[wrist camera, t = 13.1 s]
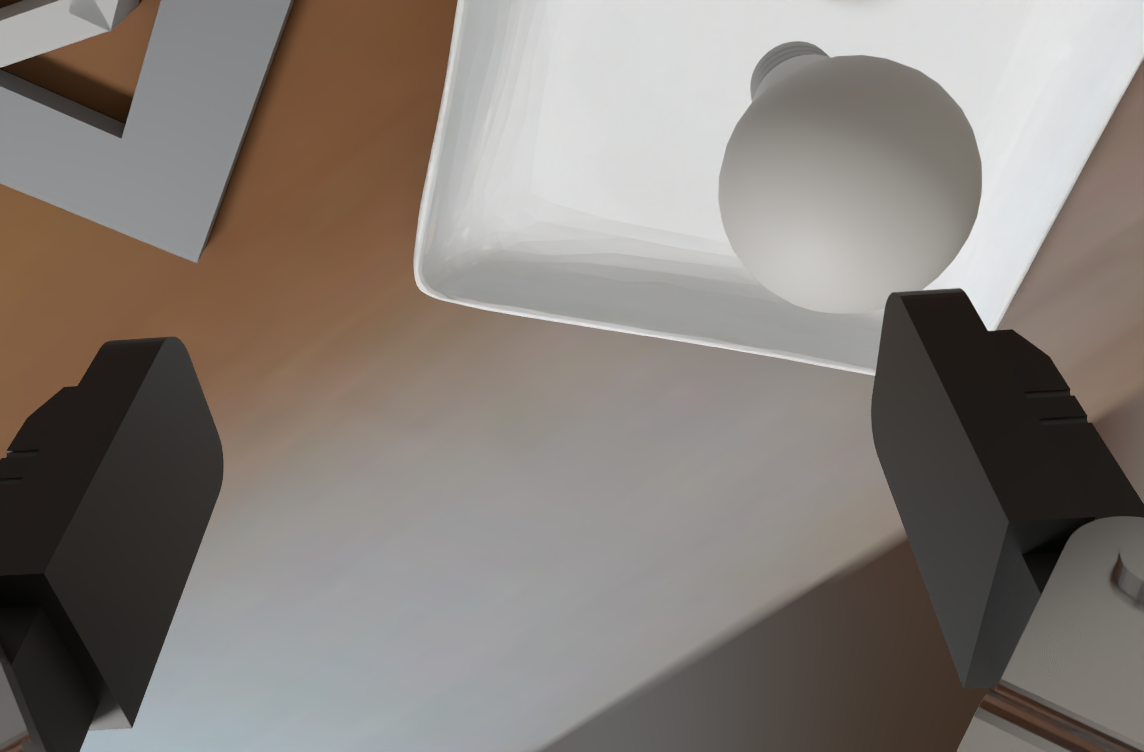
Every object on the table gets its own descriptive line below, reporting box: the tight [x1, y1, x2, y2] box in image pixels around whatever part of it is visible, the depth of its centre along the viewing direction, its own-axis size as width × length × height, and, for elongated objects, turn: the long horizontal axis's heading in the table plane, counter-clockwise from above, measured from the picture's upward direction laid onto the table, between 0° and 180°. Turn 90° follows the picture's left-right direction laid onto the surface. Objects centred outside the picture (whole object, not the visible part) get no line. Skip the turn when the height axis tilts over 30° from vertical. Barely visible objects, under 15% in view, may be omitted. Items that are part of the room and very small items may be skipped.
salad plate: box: [414, 0, 1144, 376], centre depth 33 cm, size 21×21×3 cm
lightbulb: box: [718, 41, 982, 314], centre depth 27 cm, size 6×6×11 cm
